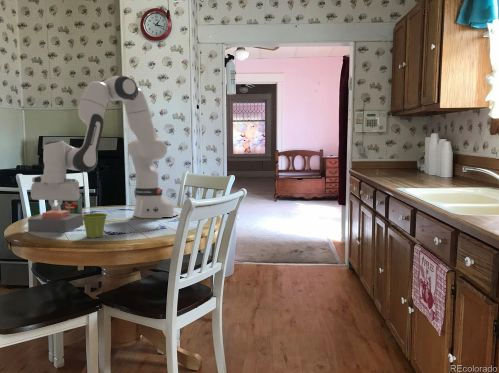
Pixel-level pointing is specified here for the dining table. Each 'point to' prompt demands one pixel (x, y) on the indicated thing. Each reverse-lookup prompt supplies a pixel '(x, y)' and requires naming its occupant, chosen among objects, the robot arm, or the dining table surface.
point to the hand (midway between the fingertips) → (55, 210)
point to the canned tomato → (74, 206)
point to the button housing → (55, 223)
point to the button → (56, 214)
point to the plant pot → (94, 224)
